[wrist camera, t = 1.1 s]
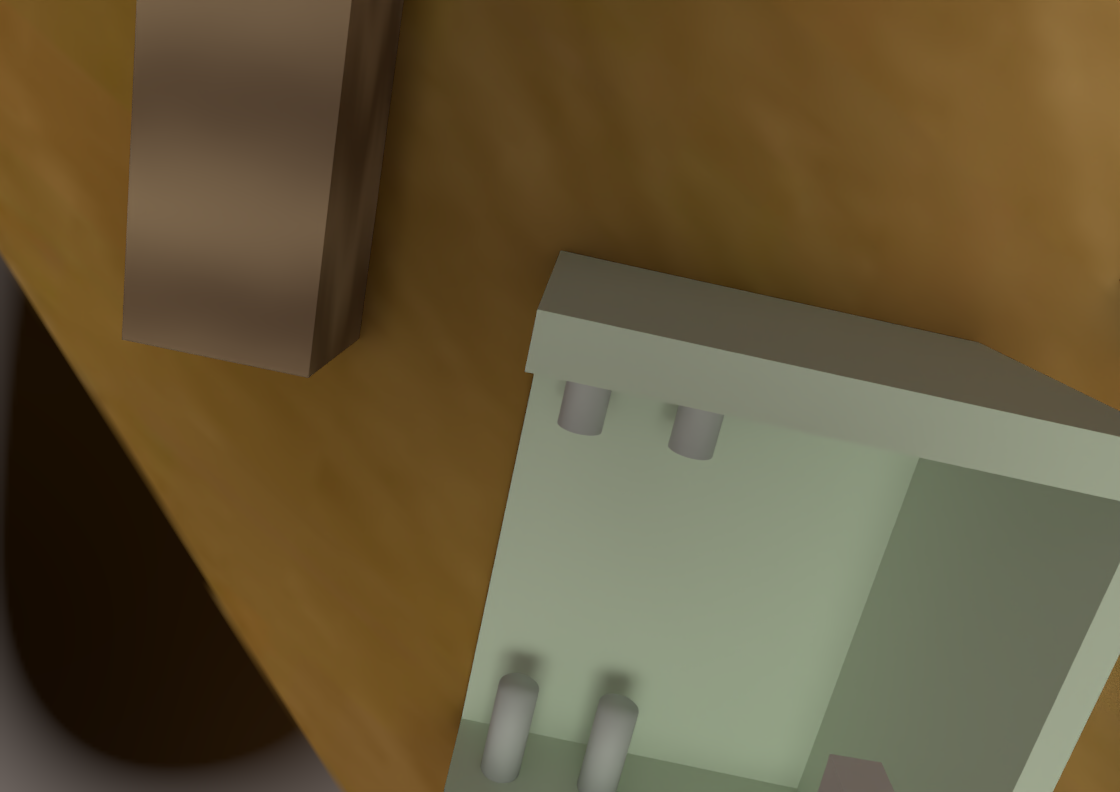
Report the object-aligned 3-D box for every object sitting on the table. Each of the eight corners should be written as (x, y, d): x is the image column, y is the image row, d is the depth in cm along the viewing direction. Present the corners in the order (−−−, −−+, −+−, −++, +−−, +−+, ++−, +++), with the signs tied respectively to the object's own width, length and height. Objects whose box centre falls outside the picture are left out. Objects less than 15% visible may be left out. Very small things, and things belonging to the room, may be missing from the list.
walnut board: (244, -162, 27) (147, -250, 21) (422, -124, 27) (374, -201, 21) (209, 305, 31) (122, 339, 26) (360, 337, 31) (308, 377, 26)
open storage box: (560, 250, 30) (537, 309, 18) (978, 342, 30) (1214, 457, 19) (458, 733, 36) (393, 1002, 25) (804, 806, 36) (900, 1105, 25)
